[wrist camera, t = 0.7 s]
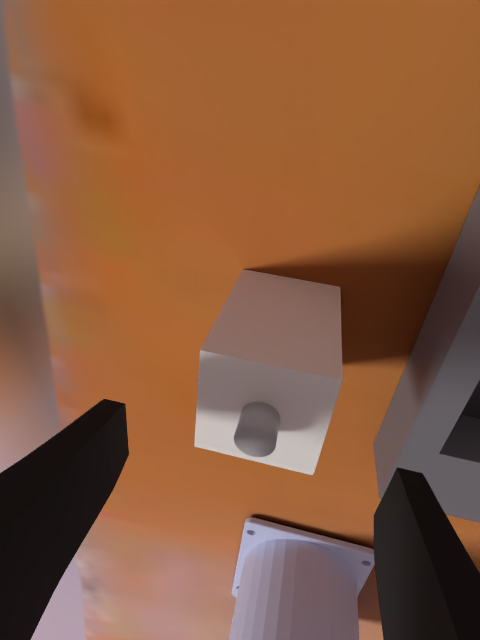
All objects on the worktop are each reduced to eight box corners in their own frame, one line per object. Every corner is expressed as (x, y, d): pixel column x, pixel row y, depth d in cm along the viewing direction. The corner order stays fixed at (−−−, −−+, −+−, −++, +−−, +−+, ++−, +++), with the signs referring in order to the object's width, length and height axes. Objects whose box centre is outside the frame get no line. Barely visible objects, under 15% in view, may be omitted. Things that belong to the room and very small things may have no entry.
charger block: (319, 365, 18) (311, 503, 12) (233, 347, 18) (184, 470, 12) (340, 286, 16) (343, 405, 10) (242, 268, 16) (188, 371, 10)
